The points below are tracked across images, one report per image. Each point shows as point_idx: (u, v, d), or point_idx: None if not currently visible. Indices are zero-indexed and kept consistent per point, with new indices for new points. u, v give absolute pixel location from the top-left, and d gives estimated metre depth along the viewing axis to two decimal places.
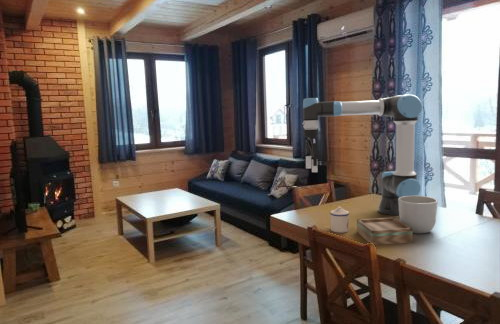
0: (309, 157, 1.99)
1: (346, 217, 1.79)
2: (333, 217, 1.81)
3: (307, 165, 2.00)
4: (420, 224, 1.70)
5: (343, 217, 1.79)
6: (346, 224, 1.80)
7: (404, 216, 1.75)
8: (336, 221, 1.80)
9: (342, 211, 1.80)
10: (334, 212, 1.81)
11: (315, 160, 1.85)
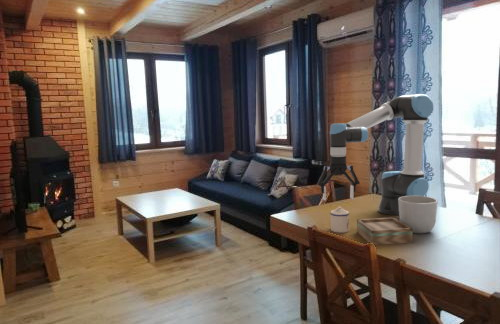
0: (351, 186, 1.83)
1: (346, 217, 1.79)
2: (333, 217, 1.81)
3: (350, 195, 1.84)
4: (420, 224, 1.70)
5: (343, 217, 1.79)
6: (346, 224, 1.80)
7: (404, 216, 1.75)
8: (336, 221, 1.80)
9: (342, 211, 1.80)
10: (334, 212, 1.81)
11: (321, 187, 1.82)
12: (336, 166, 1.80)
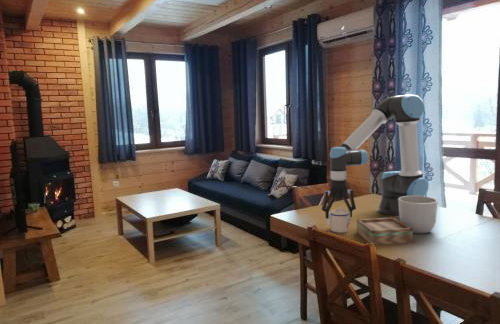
0: None
1: (346, 217, 1.79)
2: (333, 217, 1.81)
3: None
4: (420, 224, 1.70)
5: (343, 217, 1.79)
6: (346, 224, 1.80)
7: (404, 216, 1.75)
8: (336, 221, 1.80)
9: (342, 211, 1.80)
10: (334, 212, 1.81)
11: (325, 213, 1.84)
12: (336, 188, 1.82)
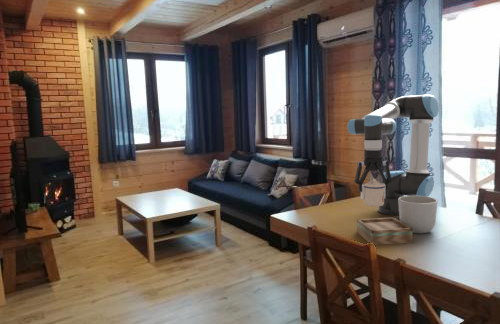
0: None
1: (381, 190, 1.67)
2: (367, 190, 1.68)
3: None
4: (420, 224, 1.70)
5: (378, 190, 1.66)
6: (381, 197, 1.67)
7: (404, 216, 1.75)
8: (371, 194, 1.67)
9: (377, 183, 1.67)
10: (368, 184, 1.68)
11: None
12: (370, 159, 1.69)
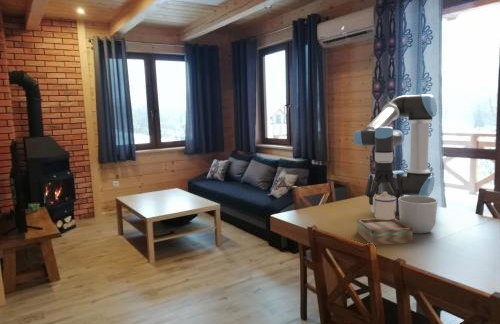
0: None
1: (393, 203, 1.64)
2: (378, 203, 1.65)
3: None
4: (420, 224, 1.70)
5: (390, 203, 1.64)
6: (393, 210, 1.65)
7: (404, 216, 1.75)
8: (382, 207, 1.65)
9: (388, 196, 1.65)
10: (379, 197, 1.66)
11: (369, 198, 1.69)
12: (381, 172, 1.67)
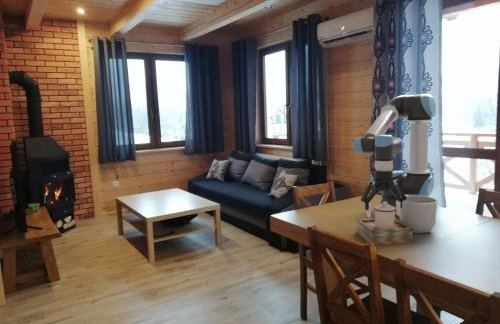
0: (397, 202, 1.69)
1: (393, 213, 1.65)
2: (378, 213, 1.66)
3: (396, 211, 1.71)
4: (420, 224, 1.70)
5: (390, 213, 1.64)
6: (393, 221, 1.65)
7: (404, 216, 1.75)
8: (382, 217, 1.65)
9: (388, 206, 1.66)
10: (380, 207, 1.66)
11: (365, 204, 1.69)
12: (382, 181, 1.67)
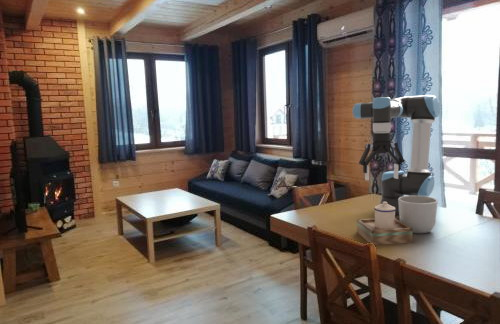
0: (395, 165, 1.70)
1: (393, 213, 1.65)
2: (378, 213, 1.66)
3: (394, 174, 1.71)
4: (420, 224, 1.70)
5: (390, 213, 1.64)
6: (393, 221, 1.65)
7: (404, 216, 1.75)
8: (382, 217, 1.65)
9: (388, 206, 1.66)
10: (379, 208, 1.66)
11: (363, 167, 1.69)
12: (380, 143, 1.67)
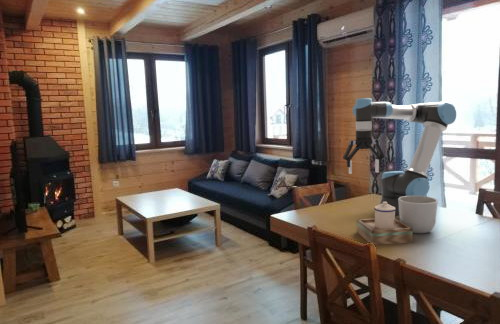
0: (376, 160, 1.86)
1: (393, 213, 1.65)
2: (378, 213, 1.66)
3: (375, 168, 1.88)
4: (420, 224, 1.70)
5: (390, 213, 1.64)
6: (393, 221, 1.65)
7: (404, 216, 1.75)
8: (382, 217, 1.65)
9: (388, 206, 1.66)
10: (379, 208, 1.66)
11: (347, 161, 1.85)
12: (362, 140, 1.84)
